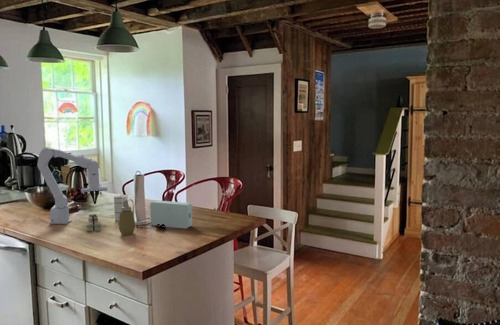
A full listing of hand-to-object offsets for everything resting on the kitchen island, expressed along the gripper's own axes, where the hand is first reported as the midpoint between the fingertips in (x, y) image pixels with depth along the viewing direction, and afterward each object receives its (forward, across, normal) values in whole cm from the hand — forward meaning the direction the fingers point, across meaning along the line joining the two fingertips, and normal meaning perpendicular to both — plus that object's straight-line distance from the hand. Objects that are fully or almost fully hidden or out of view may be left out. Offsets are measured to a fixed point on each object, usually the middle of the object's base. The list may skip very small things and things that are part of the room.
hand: (94, 203), depth 237 cm
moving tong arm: (+9, -3, -17) cm, 20 cm away
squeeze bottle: (+10, +14, -39) cm, 43 cm away
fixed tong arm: (+9, -1, -15) cm, 18 cm away
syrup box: (+10, +14, -7) cm, 19 cm away
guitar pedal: (+10, +39, -31) cm, 51 cm away
